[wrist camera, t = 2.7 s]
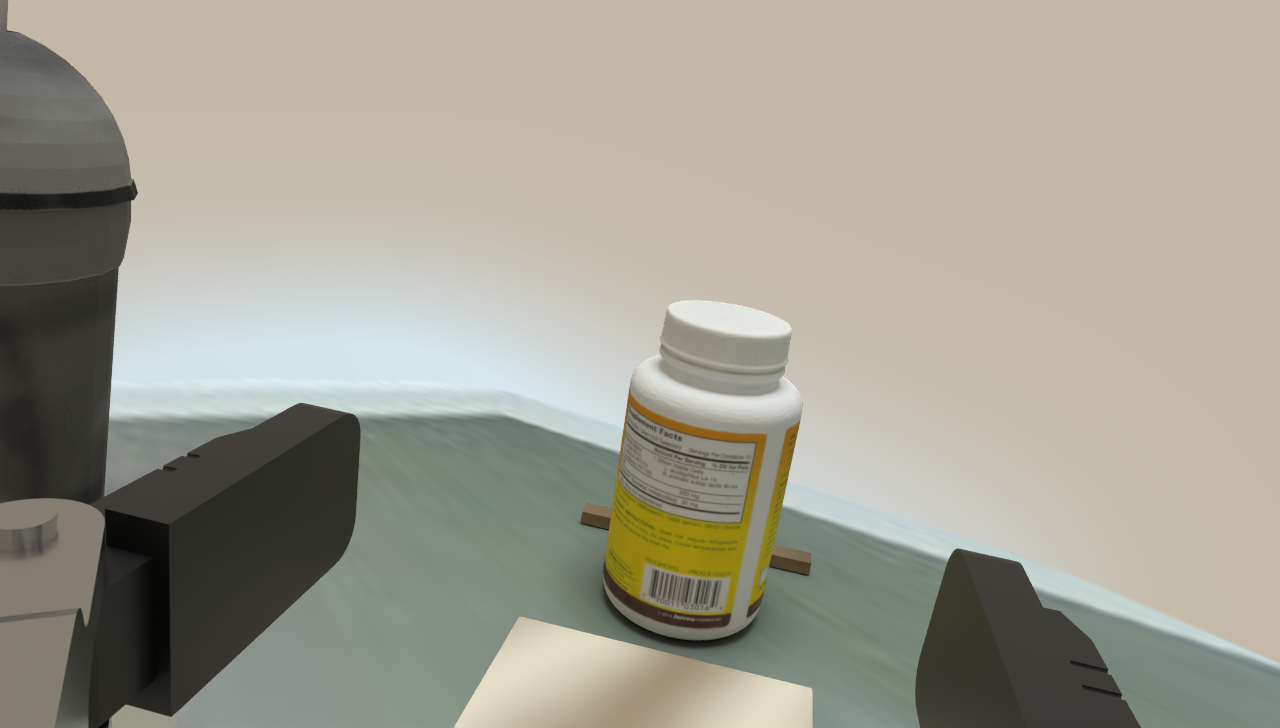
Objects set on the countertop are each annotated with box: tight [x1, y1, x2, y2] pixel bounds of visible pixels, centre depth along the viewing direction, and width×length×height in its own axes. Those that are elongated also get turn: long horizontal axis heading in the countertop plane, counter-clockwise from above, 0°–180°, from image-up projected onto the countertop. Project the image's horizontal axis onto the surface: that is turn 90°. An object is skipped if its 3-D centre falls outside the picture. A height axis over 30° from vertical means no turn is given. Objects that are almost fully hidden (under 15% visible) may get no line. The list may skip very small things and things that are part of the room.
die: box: [112, 705, 178, 728], centre depth 18 cm, size 4×4×4 cm
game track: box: [454, 503, 812, 728], centre depth 23 cm, size 9×22×1 cm, turn 169°
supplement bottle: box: [603, 300, 803, 640], centre depth 28 cm, size 6×6×10 cm
